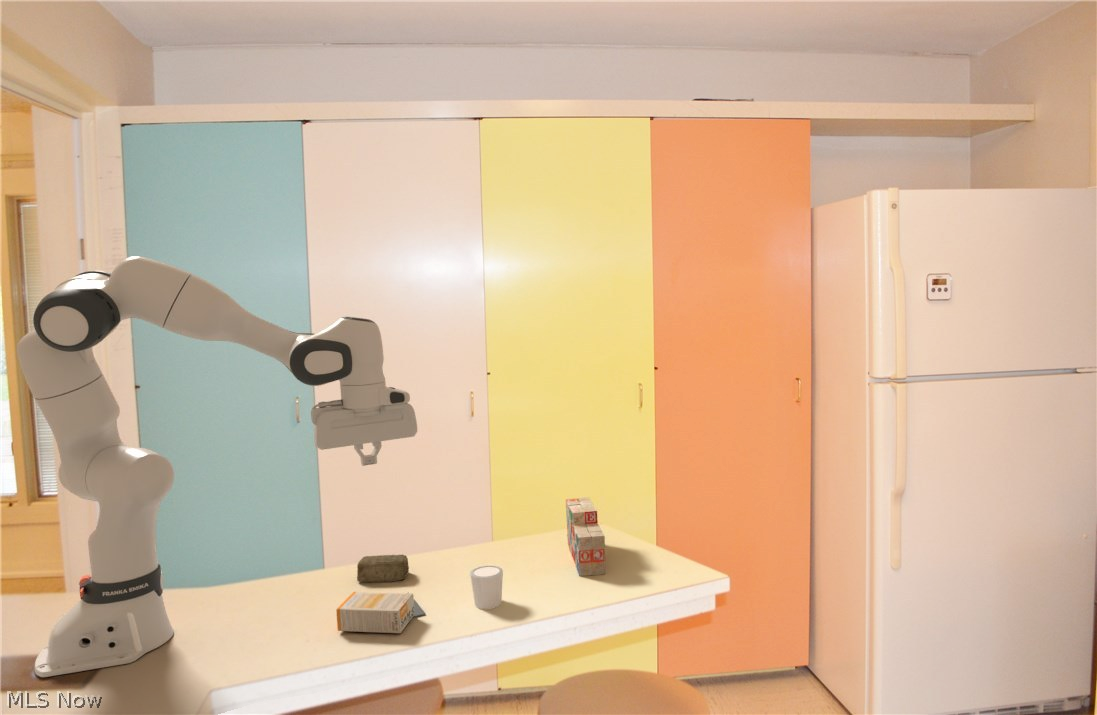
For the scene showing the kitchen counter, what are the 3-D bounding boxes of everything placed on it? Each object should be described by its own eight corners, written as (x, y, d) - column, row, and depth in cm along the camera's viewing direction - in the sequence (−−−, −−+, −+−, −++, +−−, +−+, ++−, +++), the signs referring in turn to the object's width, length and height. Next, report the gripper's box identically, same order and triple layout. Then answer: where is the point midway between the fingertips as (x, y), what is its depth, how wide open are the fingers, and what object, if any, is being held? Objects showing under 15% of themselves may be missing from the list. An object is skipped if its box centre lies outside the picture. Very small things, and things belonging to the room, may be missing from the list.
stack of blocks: (606, 575, 160) (604, 522, 159) (579, 577, 159) (576, 524, 158) (591, 542, 181) (589, 496, 180) (567, 544, 180) (565, 498, 179)
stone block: (405, 582, 161) (404, 561, 160) (355, 585, 161) (354, 564, 160) (410, 572, 167) (408, 552, 166) (361, 575, 166) (360, 554, 166)
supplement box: (337, 632, 136) (400, 635, 134) (335, 608, 136) (398, 610, 134) (355, 613, 145) (415, 615, 142) (354, 590, 144) (414, 592, 142)
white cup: (467, 601, 149) (465, 569, 148) (496, 593, 152) (495, 562, 151) (479, 613, 143) (477, 580, 142) (509, 605, 146) (508, 573, 145)
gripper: (312, 405, 133) (318, 476, 134) (417, 393, 142) (421, 459, 143) (307, 401, 139) (313, 469, 140) (408, 389, 148) (413, 453, 149)
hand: (369, 464), depth 142 cm, fingers closed
